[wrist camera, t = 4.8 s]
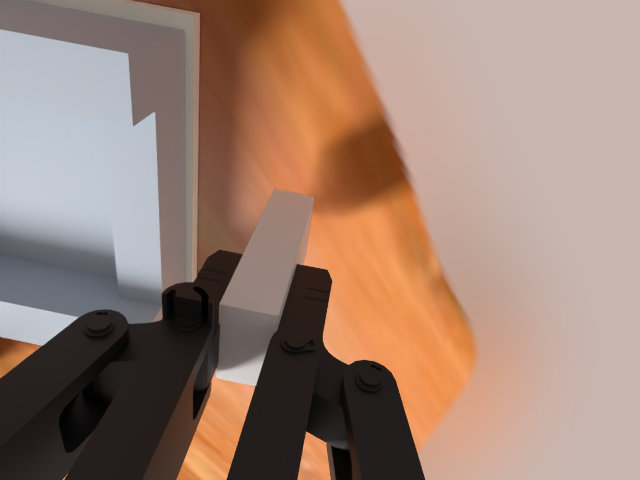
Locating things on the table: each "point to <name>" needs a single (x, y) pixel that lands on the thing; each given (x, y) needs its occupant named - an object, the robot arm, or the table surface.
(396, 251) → the table surface
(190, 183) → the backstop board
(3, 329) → the cradle block
